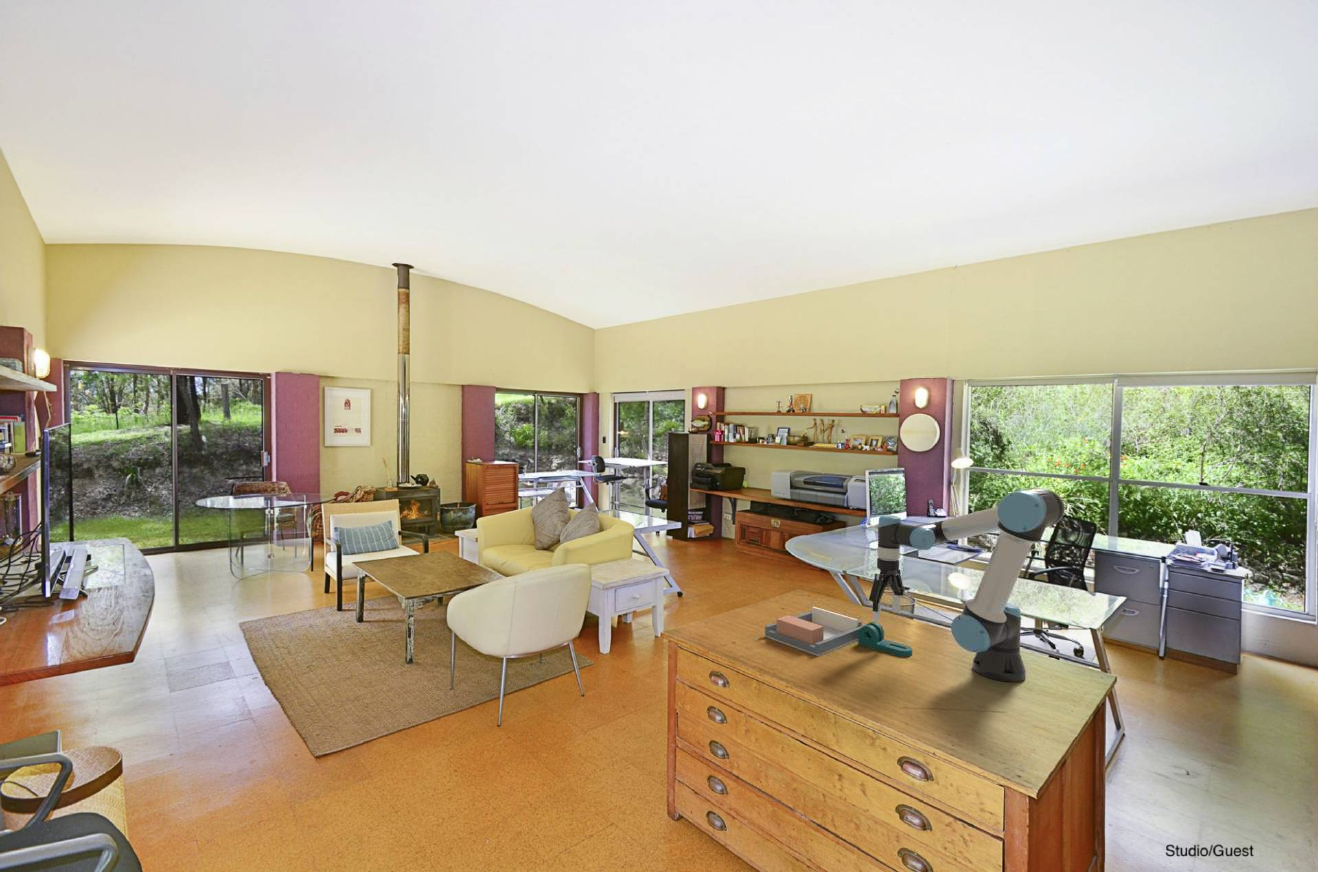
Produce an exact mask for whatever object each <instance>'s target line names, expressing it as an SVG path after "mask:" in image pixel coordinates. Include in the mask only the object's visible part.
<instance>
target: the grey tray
mask: <svg viewBox="0 0 1318 872" xmlns="http://www.w3.org/2000/svg"><path fill="white" fill-rule="evenodd" d="M794 617H796V618H799V619H802V620H805V621H808V622H811V623H814V622H812V610H811V611H809V612H805V613H801V614H799V615H796V616H794ZM815 624H817V623H815ZM818 625H820V624H818ZM821 626H824V625H821ZM863 626H864V625H863V621H861V620H858V627H857V628H854V629H852V630H849V631H846V632H842V631H839V630H836V629H833V628H830V627H827V626H824V638H823V641H820V642H817V643H815V646H814V645H811V644H808V643H805V642H803V641H800V640H797V639H794V638H791V637H789V636H786V635H783V634H780V633H777V632H776V628H777V621H776V622H774V623H769V624H768V625H765V627H764V637H765V638H767V639H770V640H773V641H776V642H778V643H782V644H783V645H786V646H789V647H792V648H794V649H797V650H800V651H803V652H806V653H808V654H811V655H814V656H816V657H820V656H823V655H825V654H828V653H830V652H833V651H835V650H837V649H840V648H843V647H844V646H847V645H850V644H852V643H854V642H857V641H858V637H859V630H860V628H861V627H863Z"/></svg>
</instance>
